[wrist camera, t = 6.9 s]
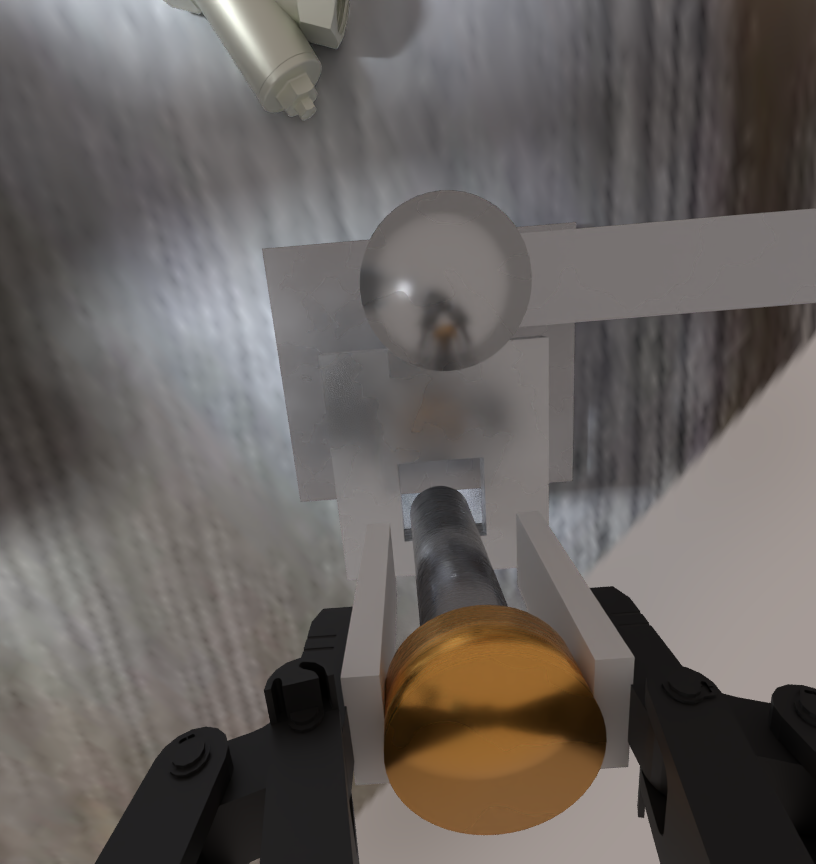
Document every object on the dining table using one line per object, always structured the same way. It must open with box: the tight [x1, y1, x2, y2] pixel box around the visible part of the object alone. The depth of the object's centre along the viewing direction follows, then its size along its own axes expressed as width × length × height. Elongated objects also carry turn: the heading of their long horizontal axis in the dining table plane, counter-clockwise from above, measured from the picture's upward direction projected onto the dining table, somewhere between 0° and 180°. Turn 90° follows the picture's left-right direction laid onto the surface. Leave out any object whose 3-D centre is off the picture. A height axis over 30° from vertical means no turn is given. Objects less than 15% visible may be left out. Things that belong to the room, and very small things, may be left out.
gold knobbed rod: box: [384, 486, 607, 835], centre depth 14 cm, size 4×4×10 cm
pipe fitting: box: [163, 0, 350, 121], centre depth 21 cm, size 8×4×7 cm
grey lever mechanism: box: [262, 190, 816, 580], centre depth 19 cm, size 23×15×15 cm, turn 95°
